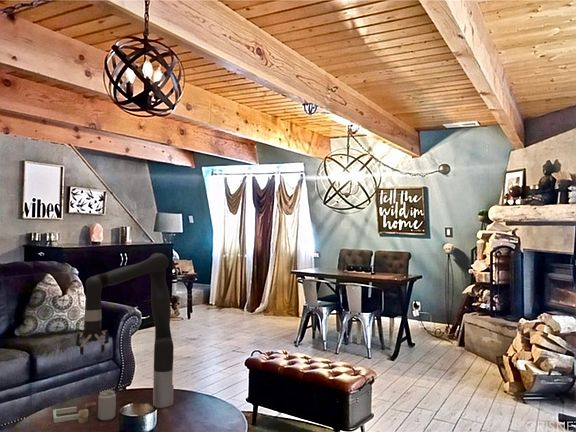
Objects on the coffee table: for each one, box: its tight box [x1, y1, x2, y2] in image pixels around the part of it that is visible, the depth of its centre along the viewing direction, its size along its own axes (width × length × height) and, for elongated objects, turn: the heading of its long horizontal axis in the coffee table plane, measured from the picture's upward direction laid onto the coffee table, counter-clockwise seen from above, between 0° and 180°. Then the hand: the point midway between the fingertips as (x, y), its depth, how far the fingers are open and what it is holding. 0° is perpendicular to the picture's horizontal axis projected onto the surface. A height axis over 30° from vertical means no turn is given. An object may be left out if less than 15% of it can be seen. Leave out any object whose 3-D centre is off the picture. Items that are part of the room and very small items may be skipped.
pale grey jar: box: [97, 389, 117, 422], centre depth 223 cm, size 8×8×12 cm
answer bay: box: [52, 406, 79, 424], centre depth 224 cm, size 10×11×2 cm
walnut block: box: [84, 401, 97, 417], centre depth 228 cm, size 4×4×4 cm
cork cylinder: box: [77, 408, 89, 425], centre depth 218 cm, size 4×4×5 cm
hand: (92, 353), depth 229 cm, fingers open, 8 cm apart
